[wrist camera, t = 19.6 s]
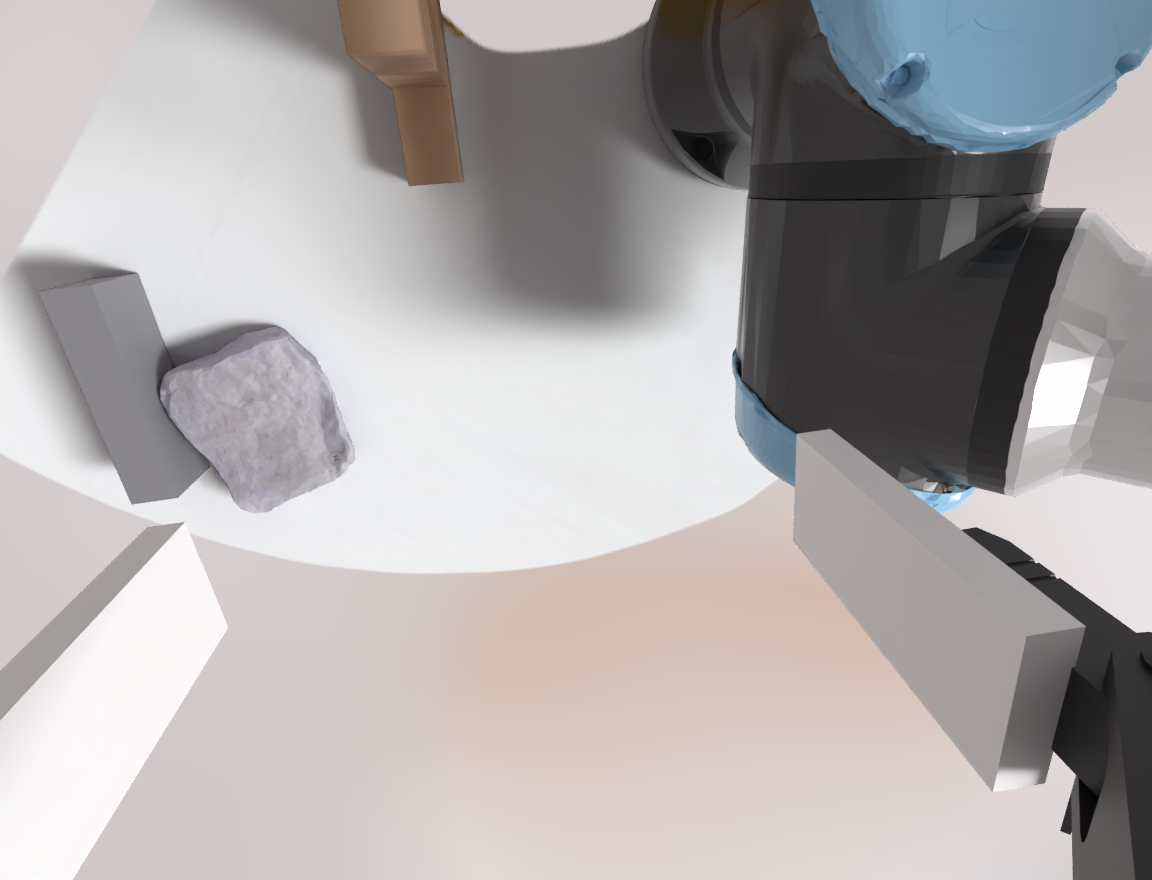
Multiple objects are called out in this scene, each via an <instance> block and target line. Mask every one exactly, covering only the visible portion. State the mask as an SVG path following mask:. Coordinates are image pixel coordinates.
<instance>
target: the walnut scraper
mask: <svg viewBox="0 0 1152 880" xmlns="http://www.w3.org/2000/svg"><path fill="white" fill-rule="evenodd" d="M337 2H338V7H339V13H340V18H341V23H342V29H343V34H344V39H345V44H346V50H347V54H348V55H349V56H350V57H351V58H353V59H354V60H355V61H357V62H358V63H359V64H360V65H362V66H363V67H364V68H365V69H367V70H368V71H369V72H371V73H372V74H373V75H374V76H376V77H377V78H378V79H379V80H381V81H382V82H383V83H385V84H386V85H387V86H388V87H390V88H391V89H392V90H393V95H394V101H395V107H396V113H397V119H398V125H399V131H400V137H401V143H402V149H403V155H404V161H405V167H406V173H407V179H408V185H409V186H416V185H428V184H440V183H452V182H464V179H463V171H462V164H461V156H460V149H459V142H458V134H457V127H456V119H455V112H454V105H453V97H452V90H451V82H450V75H449V68H448V60H447V53H446V45H445V38H444V31H443V23H442V16H441V8H440V1H439V0H337Z"/></svg>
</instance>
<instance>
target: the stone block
mask: <svg viewBox="0 0 1152 880" xmlns="http://www.w3.org/2000/svg"><path fill="white" fill-rule="evenodd" d="M160 400H161V401H162V403H163V405H164V407H165V408H166V410H167V412H168V415H169V417H170V418H171V419H172V421H173V422H174V423H175V425H176V426H177V427H178V428H179V429H180V431H181V432H182V433H183V434H184V436H185V437H186V438H187V439H188V440H189V441H190V442H191V443H192V444H193V446H194V447H195V448H196V449H197V450H198V451H199V452H201V453H202V454H203V455H204V456H205V457H206V458H207V459H208V460H209V461H210V462H211V463H212V464H213V465H214V467H215V468H216V469H217V470H218V472H219V474H220V476H221V478H222V479H223V480H224V481H225V482H226V483H227V486H228V488H229V491H230V493H231V496H232V498H233V500H234V501H235V503H236V504H237V505H238V506H239V507H240V508H241V509H244V510H246V511H249V512H252V513H261V512H268V511H271V510H272V509H273V508H274V507H277V506H279V505H281V504H282V503H283V502H285V501H288V500H290V499H292V498H295V497H297V496H299V495H302V494H304V493H306V492H310V491H312V490H314V489H316V488H318V487H320V486H322V485H325V484H327V483H329V482H332V481H334V480H335V479H337V478H338V477H340V476H341V475H342V474H343V473H344V472H345V471H346V469H347V467H348V466H349V465H350V464H352V463H353V462H354V460H355V457H354V452H355V451H354V446H353V443H352V441H351V438H350V436H349V433H348V431H347V429H346V427H345V424H344V422H343V419H342V414H341V412H340V411H339V408H338V406H337V403H336V399H335V395H334V393H333V391H332V388H331V386H330V383H329V381H328V378H327V377H326V375H325V374H324V373H323V371H322V370H321V368H320V365H319V364H318V362H317V359H316V358H315V357H314V356H313V355H312V354H311V353H310V352H308V351H307V350H306V349H305V348H304V347H303V346H301V345H300V344H299V343H298V342H297V341H296V340H295V339H294V337H292V336H291V335H290V334H289V333H288V332H287V331H286V330H284V329H281V328H279V327H276V326H275V327H268V328H265V329H262V330H257V331H250V332H247V333H243V334H241V336H240V337H238V338H236V339H235V340H234V341H232V342H230V343H227V344H226V345H225V346H224V347H223V348H222V349H221V350H220V351H218V352H215V353H213V354H208V355H206V356H203V357H200V358H198V359H195V360H193V361H190V362H188V363H185V364H182V365H179V366H178V367H176V368H174V369H172V370H171V371H168V372H167V373H166V374H165V375H164V376H163V378H162V383H161V386H160Z"/></svg>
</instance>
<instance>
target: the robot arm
mask: <svg viewBox="0 0 1152 880" xmlns="http://www.w3.org/2000/svg"><path fill="white" fill-rule="evenodd" d="M1151 48H1152V0H656V2H655V4H654V7H653V10H652V13H651V16H650V19H649V23H648V27H647V31H646V37H645V43H644V52H643V78H644V87H645V94H646V98H647V103H648V107H649V110H650V113H651V116H652V119H653V121H654V124H655V126H656V128H657V130H658V132H659V134H660V136H661V138H662V139H663V141H664V143H665V144H666V146H667V147H668V148H669V150H670V151H671V152H672V154H673V155H674V156H675V157H676V158H677V159H678V160H679V161H680V162H681V163H682V164H683V165H684V166H685V167H686V168H688V169H689V170H690V171H691V172H693V173H694V174H696V175H697V176H699V177H701V178H703V179H704V180H706V181H709V182H711V183H713V184H716V185H719V186H722V187H726V188H731V189H737V190H749V193H748V197H747V208H746V221H745V235H744V249H743V263H742V277H741V290H740V304H739V318H738V332H737V345H736V349H735V350H734V352H733V357H732V369H733V374H734V377H735V380H736V398H735V420H736V425H737V429H738V432H739V435H740V436H741V437H742V439H743V440H744V441H745V444H746V446H747V447H748V450H749V452H750V453H751V454H752V455H753V456H754V458H755V459H756V460H757V461H758V462H759V463H761V464H762V465H763V466H764V467H765V468H766V469H768V470H769V471H770V472H771V473H773V474H774V475H776V476H777V477H779V478H780V479H782V480H783V481H785V482H787V483H788V484H790V485H792V486H794V487H795V505H794V537H793V541H794V542H795V544H796V545H797V546H798V547H799V549H800V550H801V551H802V552H803V554H804V555H805V556H806V558H807V559H808V560H809V561H810V563H811V564H812V565H813V566H814V568H815V569H816V570H817V571H818V572H819V574H820V575H821V576H822V578H823V579H824V580H825V581H826V583H827V584H828V585H829V587H831V589H832V590H833V591H834V593H835V594H836V595H837V597H838V598H839V599H840V600H841V602H842V603H843V604H844V605H845V607H846V608H847V609H848V610H849V612H850V613H851V614H852V615H853V617H854V618H855V619H856V620H857V622H858V623H859V624H860V626H861V627H862V628H863V629H864V631H865V632H866V633H867V634H868V636H869V637H870V638H871V640H872V641H873V642H874V643H875V644H876V646H877V647H878V648H879V650H880V651H881V652H882V653H883V655H884V656H885V657H886V658H887V660H888V661H889V662H890V663H891V665H892V666H893V667H894V668H895V670H896V671H897V672H898V673H899V675H900V676H901V677H902V679H903V680H904V681H905V682H906V684H907V685H908V686H909V687H910V689H911V690H912V691H913V692H914V694H915V695H916V696H917V697H918V699H919V700H920V701H921V703H922V704H923V705H924V706H925V708H926V709H927V710H928V711H929V713H930V714H931V715H932V716H933V718H934V719H935V720H936V721H937V723H938V724H939V725H940V726H941V728H942V729H943V730H944V732H945V733H946V734H947V735H948V737H949V738H950V739H951V740H952V742H953V743H954V744H955V745H956V747H957V748H958V749H959V751H960V752H961V753H962V754H963V756H964V757H965V758H966V759H967V761H968V762H969V763H970V764H971V765H972V767H973V768H974V769H975V771H976V772H977V773H978V774H979V776H980V777H981V778H982V780H983V781H984V782H985V783H986V785H987V786H988V787H989V788H990V790H991V791H992V792H998V791H1004V790H1009V789H1015V788H1021V787H1027V786H1032V785H1038V784H1043V783H1045V781H1046V777H1047V773H1048V770H1049V766H1050V762H1051V758H1052V754H1053V751H1054V752H1055V753H1056V754H1057V755H1058V756H1059V757H1060V758H1061V759H1062V760H1063V762H1064V763H1065V764H1066V765H1067V766H1068V767H1069V768H1070V769H1071V770H1072V771H1073V772H1074V773H1075V774H1076V778H1075V781H1074V785H1073V789H1072V792H1071V795H1070V799H1069V802H1068V806H1067V809H1066V813H1065V816H1064V820H1063V823H1062V827H1061V830H1060V831H1062V832H1064V833H1067V834H1071V832H1072V856H1073V880H1152V632H1144V633H1143V632H1142V633H1136V632H1134V631H1132V630H1131V629H1130V628H1129V627H1127V626H1126V625H1124V624H1123V623H1122V622H1120V621H1119V620H1118V619H1116V618H1115V617H1113V616H1112V615H1111V614H1109V613H1108V612H1106V611H1105V610H1104V609H1102V608H1101V607H1100V606H1098V605H1097V604H1095V603H1094V602H1092V601H1091V600H1090V599H1088V598H1087V597H1086V596H1084V595H1083V594H1081V593H1080V592H1079V591H1077V590H1076V589H1074V588H1073V587H1072V586H1070V585H1069V584H1068V583H1066V582H1065V581H1064V580H1062V579H1061V578H1059V579H1056V577H1055V574H1054V573H1052V572H1051V571H1050V570H1048V569H1047V568H1045V567H1044V566H1043V565H1041V564H1040V563H1035V562H1034V559H1033V558H1032V557H1030V556H1029V555H1027V554H1026V553H1025V552H1023V551H1022V550H1021V549H1019V548H1018V547H1016V546H1015V545H1013V544H1012V543H1011V542H1009V541H1007V540H1005V539H1002V538H1000V537H998V536H996V535H993V534H991V533H988V532H986V531H984V530H981V529H979V528H970V529H963V530H960V529H959V528H958V527H957V526H955V525H954V524H953V523H951V522H950V521H949V520H948V519H946V518H945V517H943V516H942V515H941V514H940V513H944V512H946V511H949V510H951V509H954V508H956V507H958V506H959V505H961V504H962V503H963V502H964V501H965V500H966V499H967V498H968V497H969V496H970V495H972V494H973V493H974V492H975V491H976V489H977V488H980V489H984V490H988V491H992V492H996V493H1000V494H1004V495H1009V496H1013V497H1017V496H1020V495H1022V494H1025V493H1027V492H1029V491H1031V490H1034V489H1036V488H1038V487H1040V486H1043V485H1045V484H1047V483H1049V482H1052V481H1054V480H1056V479H1058V478H1061V477H1064V476H1070V475H1076V474H1084V475H1089V476H1093V477H1098V478H1103V479H1107V480H1112V481H1117V482H1122V483H1126V484H1131V485H1136V486H1140V487H1145V488H1150V489H1152V252H1150V251H1146V250H1143V249H1139V248H1137V247H1136V246H1135V245H1134V244H1133V243H1132V242H1131V241H1130V240H1129V239H1128V238H1127V237H1126V236H1125V235H1124V233H1123V232H1122V231H1121V230H1120V229H1119V228H1118V227H1117V226H1116V225H1115V224H1114V223H1113V222H1112V221H1111V220H1110V219H1109V218H1108V217H1107V216H1106V215H1105V214H1104V213H1103V211H1102V210H1100V209H1094V208H1045V207H1042V206H1041V205H1040V202H1041V197H1042V191H1043V189H1044V184H1045V180H1046V176H1047V172H1048V168H1049V163H1050V159H1051V155H1052V150H1053V147H1054V143H1055V140H1056V135H1057V134H1058V133H1059V132H1060V131H1062V130H1066V129H1067V128H1068V127H1070V126H1071V125H1073V124H1075V123H1076V122H1078V121H1080V120H1081V119H1083V118H1085V117H1087V116H1088V115H1089V114H1091V113H1092V112H1093V111H1095V110H1096V109H1097V108H1099V107H1100V106H1102V105H1103V104H1104V103H1105V102H1106V101H1107V100H1108V99H1109V98H1110V97H1111V96H1112V95H1113V94H1114V92H1115V91H1116V89H1117V88H1116V87H1117V85H1116V81H1117V79H1119V78H1120V77H1121V76H1122V75H1124V74H1125V73H1127V72H1130V71H1133V70H1134V69H1136V68H1137V67H1139V66H1140V64H1141V63H1142V61H1143V60H1144V58H1145V57H1146V56H1147V54H1148V53H1149V51H1150V50H1151ZM227 628H228V626H227V624H226V621H225V619H224V616H223V614H222V612H221V609H220V607H219V604H218V602H217V599H216V597H215V594H214V592H213V590H212V587H211V585H210V582H209V580H208V577H207V575H206V572H205V570H204V568H203V565H202V563H201V560H200V558H199V555H198V553H197V550H196V548H195V546H194V543H193V540H192V538H191V536H190V533H189V531H188V528H187V526H186V523H185V522H182V523H175V524H168V525H161V526H154V527H148V528H146V529H145V530H144V531H143V532H142V533H141V534H140V535H139V536H138V537H137V538H136V539H135V540H134V541H133V542H132V543H131V544H130V545H129V546H128V547H127V548H126V549H125V550H124V551H123V552H122V553H121V554H120V555H119V556H118V557H117V558H115V560H113V561H112V562H111V564H109V565H108V566H107V567H106V568H105V569H104V570H103V571H102V572H101V573H100V574H99V575H98V576H97V577H96V578H95V579H94V580H93V581H92V582H91V583H90V584H89V585H88V586H87V587H86V588H85V589H84V590H83V591H82V592H81V593H80V594H79V595H78V596H77V597H76V598H74V600H72V601H71V602H70V603H69V604H68V605H67V606H66V607H65V608H64V609H63V611H61V612H60V613H59V614H58V615H57V616H56V617H55V618H54V619H53V620H52V621H51V622H50V623H49V624H48V625H47V626H46V627H45V628H44V629H43V630H42V631H41V632H40V633H39V634H38V635H37V636H36V637H35V638H34V639H33V640H31V641H30V643H28V644H27V646H25V647H24V648H23V649H22V650H21V651H20V652H19V653H18V654H17V655H16V656H15V657H14V658H13V659H12V660H11V661H10V662H9V663H8V664H7V665H6V666H5V667H4V668H3V669H2V670H1V671H0V880H73V878H74V876H75V875H76V873H77V872H78V870H79V868H80V867H81V865H82V863H83V862H84V860H85V859H86V857H87V855H88V853H89V852H90V850H91V849H92V847H93V846H94V844H95V842H96V841H97V839H98V837H99V836H100V834H101V833H102V831H103V829H104V828H105V826H106V825H107V822H108V821H109V820H110V818H111V816H112V815H113V813H114V811H115V810H116V808H117V807H118V805H119V803H120V802H121V800H122V799H123V797H124V795H125V794H126V792H127V791H128V789H129V787H130V786H131V784H132V782H133V781H134V779H135V778H136V776H137V774H138V772H139V771H140V769H141V768H142V766H143V765H144V763H145V761H146V760H147V758H148V756H149V755H150V753H151V752H152V750H153V748H154V746H155V745H156V743H157V742H158V740H159V739H160V737H161V735H162V734H163V732H164V730H165V729H166V727H167V726H168V724H169V722H170V721H171V719H172V718H173V716H174V714H175V713H176V711H177V709H178V708H179V706H180V704H181V703H182V701H183V700H184V698H185V696H186V695H187V693H188V692H189V690H190V688H191V687H192V685H193V683H194V682H195V680H196V679H197V677H198V675H199V674H200V672H201V671H202V669H203V667H204V666H205V664H206V662H207V661H208V659H209V658H210V656H211V654H212V653H213V651H214V649H215V648H216V646H217V644H218V643H219V641H220V640H221V638H222V636H223V635H224V633H225V632H226V630H227Z"/></svg>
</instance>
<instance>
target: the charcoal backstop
mask: <svg viewBox="0 0 1152 880" xmlns="http://www.w3.org/2000/svg"><path fill="white" fill-rule="evenodd" d="M38 293H39V296H40V298H41V300H42V302H43V305H44V307H45V309H46V312H47V314H48V316H49V318H50V321H51V323H52V325H53V327H54V330H55V332H56V334H57V336H58V339H59V341H60V343H61V345H62V348H63V350H64V352H65V355H66V357H67V359H68V361H69V364H70V366H71V368H72V370H73V373H74V375H75V377H76V379H77V382H78V384H79V386H80V389H81V391H82V393H83V395H84V398H85V400H86V402H87V404H88V407H89V409H90V411H91V413H92V416H93V418H94V420H95V423H96V425H97V427H98V429H99V432H100V434H101V436H102V438H103V441H104V443H105V445H106V447H107V450H108V452H109V454H110V456H111V459H112V461H113V463H114V466H115V468H116V470H117V472H118V475H119V477H120V479H121V481H122V484H123V486H124V488H125V490H126V493H127V495H128V497H129V500H130V502H131V504H138V503H145V502H152V501H159V500H166V499H173V498H178V497H179V496H180V495H181V494H182V493H183V492H184V491H185V490H186V489H187V488H188V487H189V486H190V485H192V484H193V483H194V482H195V481H196V480H197V479H198V478H199V477H200V476H201V475H202V474H203V473H204V472H205V471H206V470H207V469H208V468H209V467H210V464H209V461H208V459H207V458H206V457H205V456H204V455H203V454H202V453H201V452H199V451H198V450H197V449H196V448H195V447H194V446H193V444H192V443H191V442H190V441H189V440H188V439H187V438H186V437H185V436H184V434H183V433H182V432H181V431H180V429H179V428H178V427H177V426H176V425H175V423H174V422H173V421H172V419H171V418H170V417H169V415H168V412H167V410H166V408H165V407H164V405H163V403H162V401H161V400H160V386H161V383H162V378H163V376H164V375H165V374H166V373H167V372H168V371H171V370H172V369H174V368H173V366H172V363H171V360H170V358H169V355H168V352H167V350H166V347H165V344H164V342H163V339H162V336H161V334H160V331H159V328H158V326H157V323H156V320H155V318H154V315H153V312H152V310H151V307H150V304H149V302H148V299H147V296H146V294H145V291H144V288H143V286H142V283H141V280H140V278H139V275H138V273H135V274H127V275H119V276H111V277H102V278H94V279H88V280H84V281H80V282H76V283H72V284H68V285H64V286H60V287H55V288H51V289H47V290H43V291H39V292H38Z"/></svg>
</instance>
